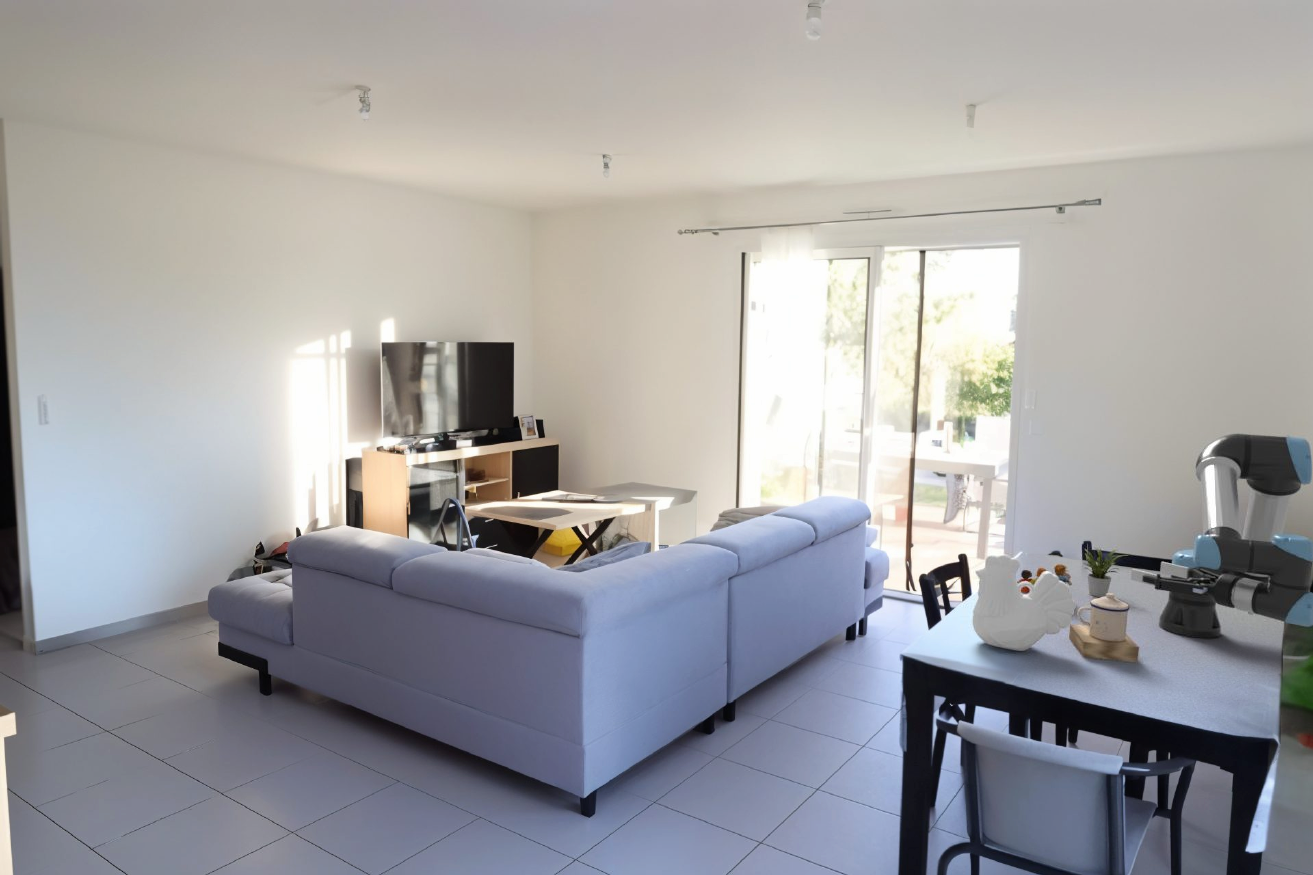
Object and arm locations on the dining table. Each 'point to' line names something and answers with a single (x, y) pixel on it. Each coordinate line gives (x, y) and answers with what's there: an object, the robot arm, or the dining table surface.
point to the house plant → (1099, 573)
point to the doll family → (1027, 574)
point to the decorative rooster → (1019, 605)
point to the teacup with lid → (1107, 618)
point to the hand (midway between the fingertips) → (1146, 570)
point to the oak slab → (1102, 646)
